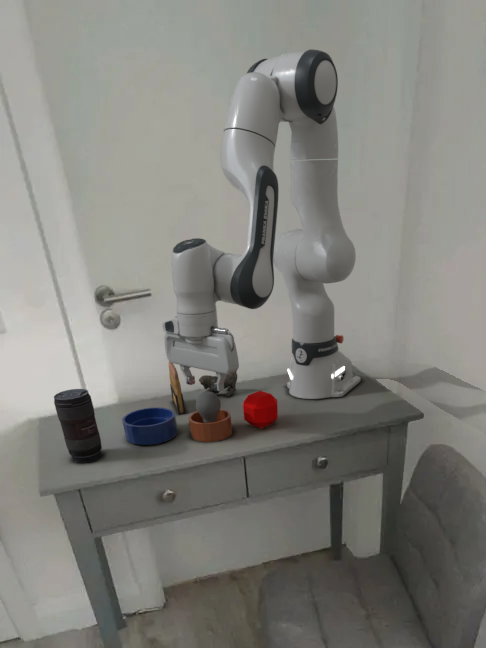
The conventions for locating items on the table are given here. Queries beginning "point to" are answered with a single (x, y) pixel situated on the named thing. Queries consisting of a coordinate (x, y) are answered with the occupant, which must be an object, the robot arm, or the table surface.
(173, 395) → the ammunition clip
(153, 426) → the blue bowl
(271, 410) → the ball
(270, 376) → the table surface
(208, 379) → the dog figurine
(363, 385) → the table surface
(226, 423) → the terracotta dish
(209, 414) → the light bulb
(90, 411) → the camera lens
